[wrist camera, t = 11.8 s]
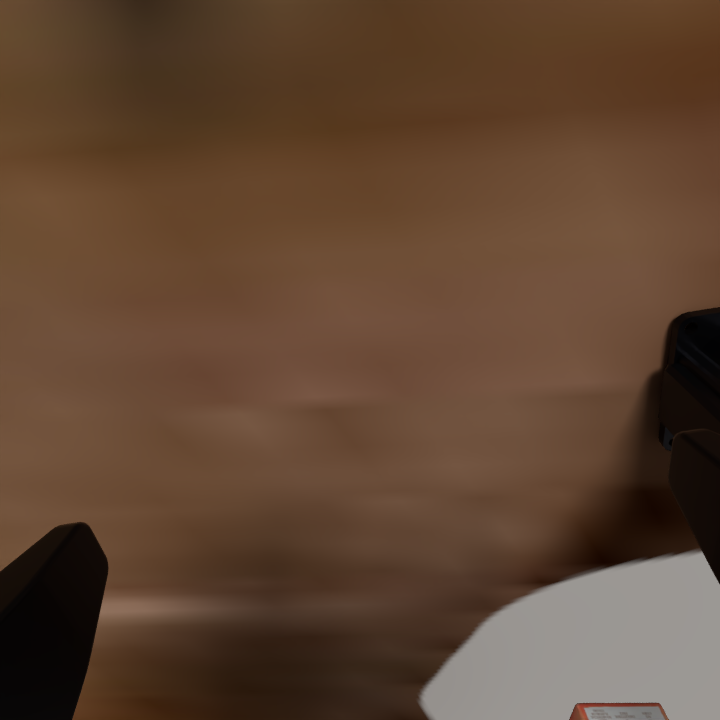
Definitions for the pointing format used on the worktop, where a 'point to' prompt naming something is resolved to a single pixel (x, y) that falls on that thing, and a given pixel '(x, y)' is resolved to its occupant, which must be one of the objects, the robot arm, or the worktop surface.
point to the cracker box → (618, 711)
